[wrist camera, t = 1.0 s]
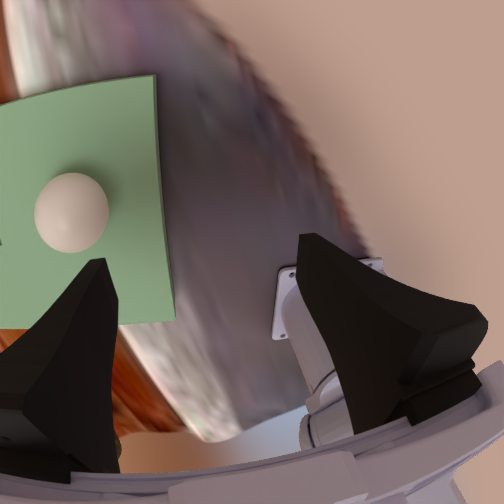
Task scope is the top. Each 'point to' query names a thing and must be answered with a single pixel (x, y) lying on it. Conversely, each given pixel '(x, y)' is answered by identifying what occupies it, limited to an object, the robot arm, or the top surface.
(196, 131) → the top surface
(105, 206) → the ball
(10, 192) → the putting mat
